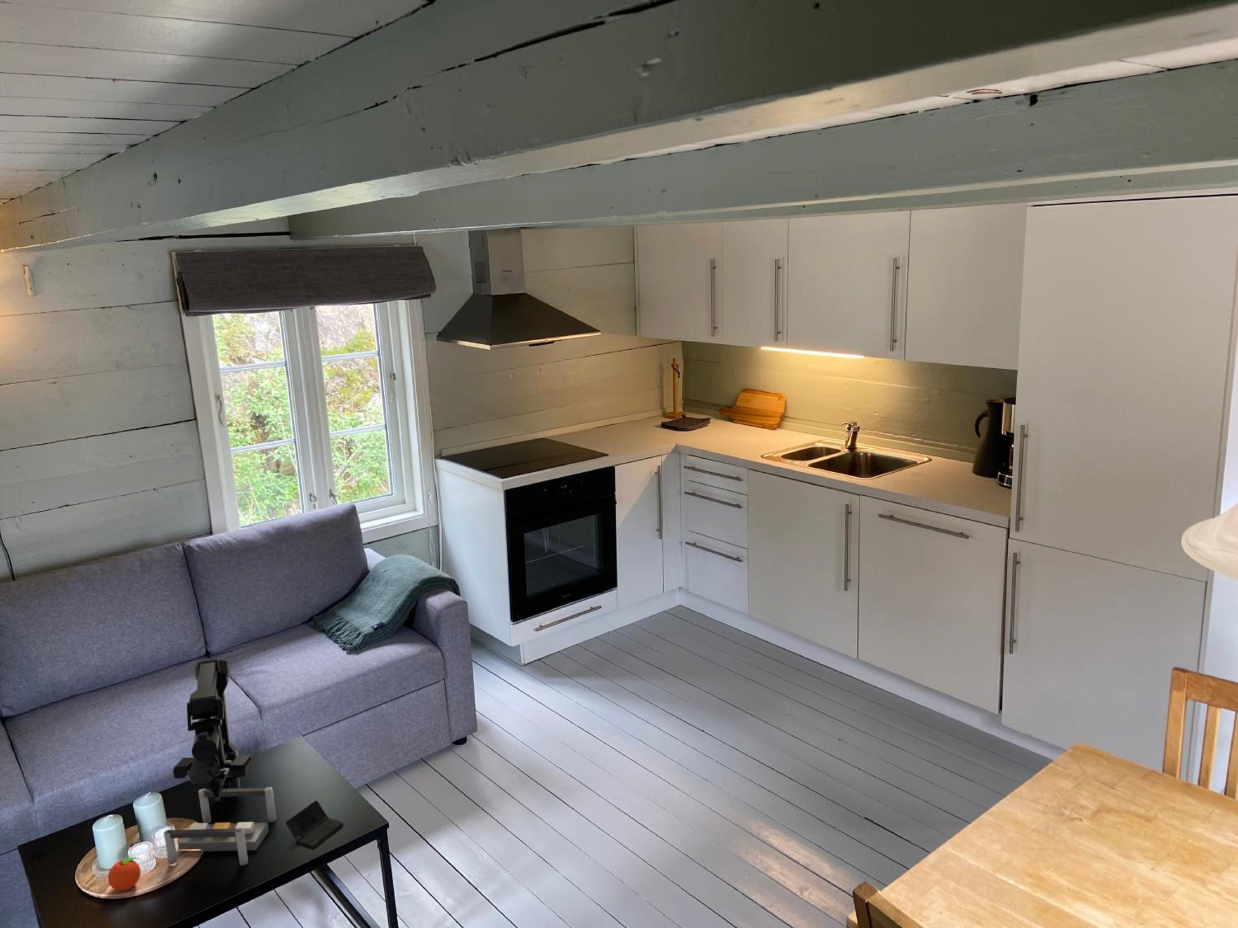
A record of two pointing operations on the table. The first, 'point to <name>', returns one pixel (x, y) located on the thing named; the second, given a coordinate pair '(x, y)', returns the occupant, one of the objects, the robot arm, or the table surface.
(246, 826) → the paddle
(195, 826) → the paddle
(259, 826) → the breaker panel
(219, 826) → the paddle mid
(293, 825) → the handheld gaming console
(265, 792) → the frame
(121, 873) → the clementine
